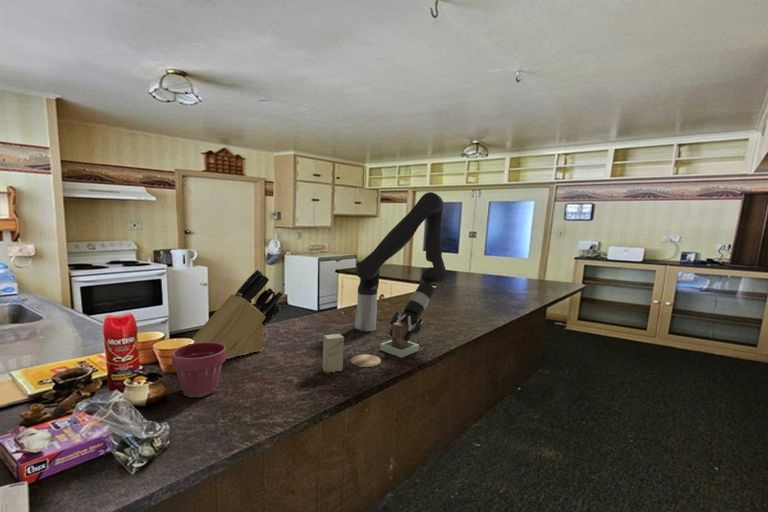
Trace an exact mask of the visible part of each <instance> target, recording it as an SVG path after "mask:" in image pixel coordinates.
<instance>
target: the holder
mask: <svg viewBox="0 0 768 512" xmlns="http://www.w3.org/2000/svg"><path fill="white" fill-rule="evenodd" d="M379 345H380V346H379V350H380V351H383V352H385V353H387V354H390V355H393V356H395V355H396V356H395V357H398V358H401V359H402V358H404V357H406V356H409V355H411V354H414V353H416V352H420V344H418V343H415V342H413V341H410V340H408V347H407V348H405V349H402V350H400V349H397V348H395V347H392V339H391V340H388V341H384V342H382V343H380V344H379Z"/></svg>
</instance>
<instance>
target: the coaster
mask: <svg viewBox="0 0 768 512" xmlns="http://www.w3.org/2000/svg"><path fill="white" fill-rule="evenodd" d="M381 362H382V360H381V358H380V357H379V356H376V355H373V354H358V355H355V356H352V357H351V359H350V363H351V365H353V364H354V365H356V366H355V367H357V366H359V367H358V368H362V367H371V368H375V367H374V366H376V367H378V366H380V365H381V364H382V363H381ZM379 364H380V365H379ZM354 365H353V366H354ZM377 365H378V366H377Z"/></svg>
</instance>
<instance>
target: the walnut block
mask: <svg viewBox="0 0 768 512" xmlns="http://www.w3.org/2000/svg"><path fill="white" fill-rule="evenodd" d="M407 331H409V326H408V324H407V323H403V322H401V321H400V322H397V323H393V333H392V338H391V340H392V347H395V348H397V349H400V350H402V349H405V348H407V347H408V341H409V340H408V341H407V342H406V341H405V340H404V336H405V335H406V333H407Z"/></svg>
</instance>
